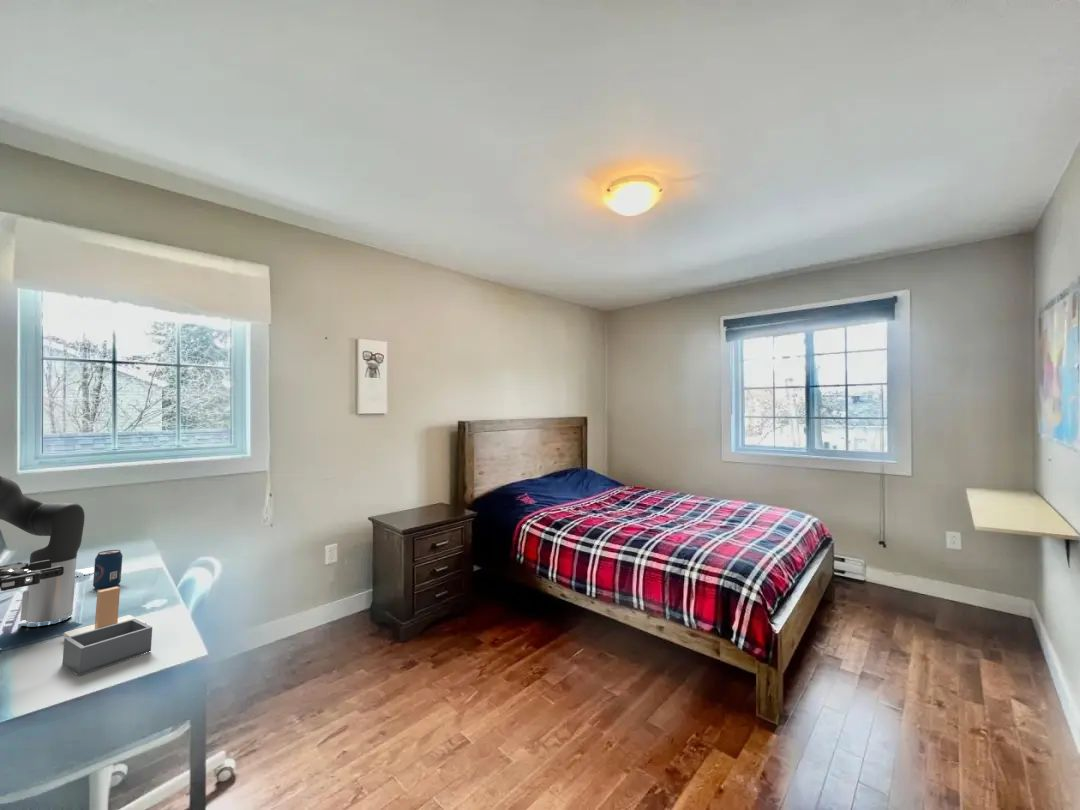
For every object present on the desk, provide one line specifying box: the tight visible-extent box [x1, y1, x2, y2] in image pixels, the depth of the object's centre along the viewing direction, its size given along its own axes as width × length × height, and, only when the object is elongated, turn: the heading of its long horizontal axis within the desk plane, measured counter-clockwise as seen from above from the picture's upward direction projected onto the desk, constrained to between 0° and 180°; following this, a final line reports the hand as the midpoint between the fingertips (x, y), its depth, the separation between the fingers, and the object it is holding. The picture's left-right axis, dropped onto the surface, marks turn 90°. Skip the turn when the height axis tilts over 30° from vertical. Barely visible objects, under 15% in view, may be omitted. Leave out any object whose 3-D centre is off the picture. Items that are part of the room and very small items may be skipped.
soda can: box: [92, 549, 123, 591], centre depth 157 cm, size 7×7×12 cm
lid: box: [63, 586, 147, 638], centre depth 121 cm, size 13×10×12 cm
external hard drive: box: [75, 566, 95, 576], centre depth 170 cm, size 2×8×12 cm
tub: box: [62, 619, 153, 677], centre depth 109 cm, size 13×10×6 cm
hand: (56, 567), depth 113 cm, fingers open, 8 cm apart
